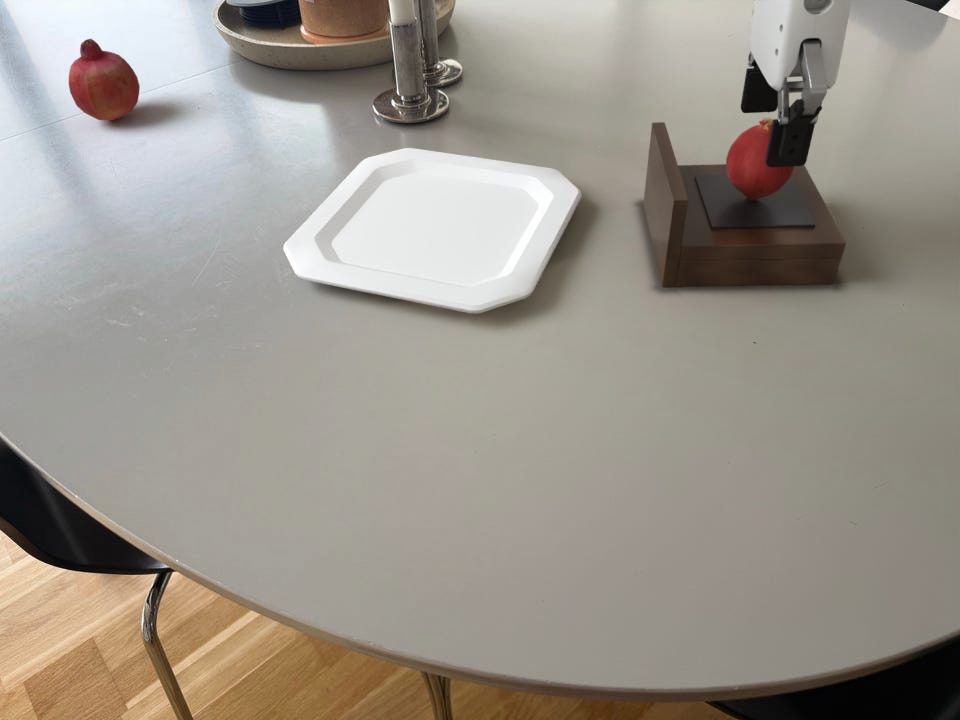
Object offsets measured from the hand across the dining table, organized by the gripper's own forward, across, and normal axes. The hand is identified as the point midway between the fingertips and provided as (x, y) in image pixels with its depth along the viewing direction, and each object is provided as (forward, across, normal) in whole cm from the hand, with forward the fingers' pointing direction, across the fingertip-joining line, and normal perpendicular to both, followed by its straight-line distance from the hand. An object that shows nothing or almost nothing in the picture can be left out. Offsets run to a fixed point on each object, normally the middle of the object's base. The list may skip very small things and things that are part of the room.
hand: (770, 136), depth 71 cm
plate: (+10, +2, +30) cm, 32 cm away
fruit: (+10, +30, +73) cm, 80 cm away
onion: (+6, 0, +1) cm, 6 cm away
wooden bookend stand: (+11, 0, +1) cm, 11 cm away
